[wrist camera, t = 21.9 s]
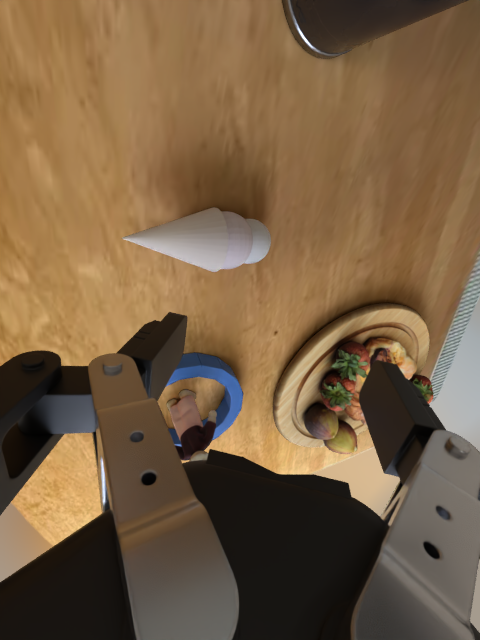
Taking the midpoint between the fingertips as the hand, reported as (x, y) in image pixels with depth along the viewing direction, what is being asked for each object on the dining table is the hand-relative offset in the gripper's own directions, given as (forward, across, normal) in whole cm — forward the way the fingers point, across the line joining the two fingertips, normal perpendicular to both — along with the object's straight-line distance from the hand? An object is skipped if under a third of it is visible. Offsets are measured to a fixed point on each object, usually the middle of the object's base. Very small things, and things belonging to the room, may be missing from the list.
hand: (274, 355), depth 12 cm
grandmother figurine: (+21, +8, +23) cm, 32 cm away
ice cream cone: (+20, +9, 0) cm, 22 cm away
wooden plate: (+35, -19, +23) cm, 46 cm away
